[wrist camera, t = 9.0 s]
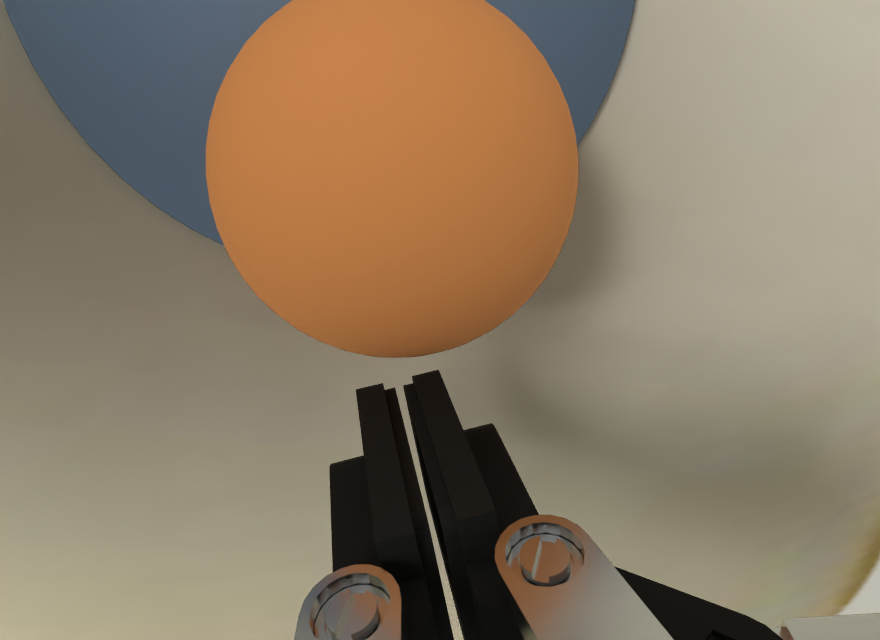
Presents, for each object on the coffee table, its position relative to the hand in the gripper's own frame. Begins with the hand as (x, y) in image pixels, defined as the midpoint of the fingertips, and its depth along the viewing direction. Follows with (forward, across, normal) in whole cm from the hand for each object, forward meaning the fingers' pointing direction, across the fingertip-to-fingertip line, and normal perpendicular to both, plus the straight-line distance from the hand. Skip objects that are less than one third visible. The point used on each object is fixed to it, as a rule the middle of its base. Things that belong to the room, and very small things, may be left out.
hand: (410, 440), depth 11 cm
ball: (0, -1, -5) cm, 5 cm away
